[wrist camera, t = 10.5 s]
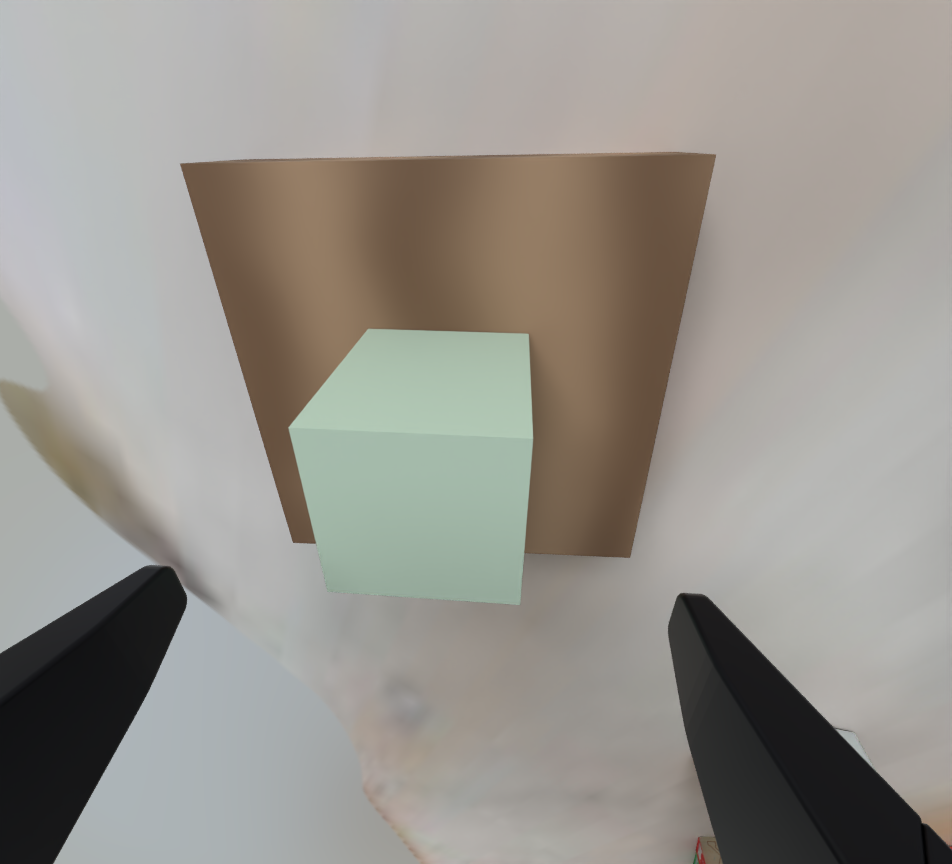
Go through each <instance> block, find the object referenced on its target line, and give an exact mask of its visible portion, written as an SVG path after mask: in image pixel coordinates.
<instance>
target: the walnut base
mask: <svg viewBox="0 0 952 864" xmlns="http://www.w3.org/2000/svg"><path fill="white" fill-rule="evenodd" d="M715 158H716V155H714V154H699V153H683V152H651V153H594V154H537V155H479V156H422V157H365V158H307V159H250V160H230V161H214V162H199V163H183V164H180V165H181V168H182V172H183V175H184V178H185V182H186V185H187V188H188V192H189V195H190V198H191V202H192V205H193V209H194V212H195V215H196V219H197V222H198V225H199V229H200V232H201V235H202V239H203V242H204V245H205V249H206V252H207V255H208V259H209V262H210V266H211V269H212V272H213V276H214V279H215V282H216V286H217V289H218V292H219V296H220V299H221V302H222V306H223V309H224V313H225V316H226V319H227V323H228V326H229V329H230V333H231V336H232V339H233V343H234V346H235V349H236V353H237V356H238V360H239V363H240V366H241V370H242V373H243V376H244V380H245V383H246V386H247V390H248V393H249V396H250V400H251V403H252V407H253V410H254V413H255V417H256V420H257V423H258V427H259V430H260V433H261V437H262V440H263V443H264V447H265V450H266V454H267V457H268V460H269V464H270V467H271V470H272V474H273V477H274V480H275V484H276V487H277V490H278V494H279V497H280V500H281V504H282V507H283V511H284V514H285V517H286V521H287V524H288V527H289V531H290V534H291V537H292V541H293V543H312V544H316V541H315V537H314V533H313V528H312V524H311V520H310V516H309V512H308V507H307V503H306V499H305V495H304V491H303V487H302V482H301V478H300V474H299V470H298V466H297V461H296V457H295V453H294V449H293V445H292V441H291V436H290V432H289V428H288V427H289V426H290V425H291V424H292V423H293V421H294V420H295V419H296V418H297V416H298V415H299V414H300V413H301V411H302V410H303V409H304V408H305V406H306V405H307V404H308V403H309V401H310V400H311V399H312V398H313V396H314V395H315V394H316V393H317V392H318V390H319V389H320V388H321V387H322V385H323V384H324V383H325V382H326V380H327V379H328V378H329V377H330V375H331V374H332V373H333V372H334V370H335V369H336V368H337V367H338V366H339V364H340V363H341V362H342V361H343V359H344V358H345V357H346V356H347V354H348V353H349V352H350V351H351V349H352V348H353V347H354V346H355V344H356V343H357V342H358V341H359V340H360V338H361V337H362V336H363V335H364V333H365V332H366V331H367V330H368V329H393V330H425V331H458V332H490V333H522V334H529V352H530V375H531V399H532V423H533V447H532V460H531V473H530V485H529V498H528V511H527V523H526V536H525V548H524V553H535V554H557V555H580V556H602V557H624V558H630V555H631V550H632V546H633V541H634V536H635V532H636V527H637V522H638V518H639V513H640V508H641V504H642V499H643V494H644V490H645V485H646V480H647V476H648V471H649V466H650V462H651V457H652V452H653V448H654V443H655V438H656V434H657V429H658V424H659V420H660V415H661V410H662V406H663V401H664V396H665V391H666V387H667V382H668V377H669V373H670V368H671V363H672V359H673V354H674V349H675V345H676V340H677V335H678V331H679V326H680V321H681V317H682V312H683V307H684V303H685V298H686V293H687V289H688V284H689V279H690V275H691V270H692V265H693V261H694V256H695V251H696V247H697V242H698V237H699V233H700V228H701V223H702V218H703V214H704V209H705V204H706V200H707V195H708V190H709V186H710V181H711V176H712V172H713V167H714V162H715Z"/></svg>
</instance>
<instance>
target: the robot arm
mask: <svg viewBox="0 0 952 864" xmlns="http://www.w3.org/2000/svg"><path fill="white" fill-rule="evenodd" d="M186 605H187V595H186V593H185V591H184V589H183V587H182V585H181V583H180V581H179V579H178V577H177V575H176V573H175V571H174V569H173V568H171V567H169V566H160V565H149V566H145V567H143V568H141V569H139V570H138V571H136V572H134V573H133V574H131V575H129V576H128V577H126V578H125V579H123V580H121V581H119V582H118V583H116V584H114V585H113V586H111V587H109V588H108V589H106V590H105V591H103V592H101V593H100V594H98V595H96V596H95V597H93V598H91V599H90V600H88V601H86V602H85V603H83V604H81V605H80V606H78V607H76V608H75V609H73V610H71V611H70V612H68V613H66V614H65V615H63V616H62V617H60V618H58V619H56V620H55V621H53V622H52V623H50V624H48V625H47V626H45V627H43V628H42V629H40V630H38V631H37V632H35V633H34V634H32V635H30V636H28V637H27V638H25V639H23V640H22V641H20V642H19V643H17V644H15V645H13V646H12V647H10V648H8V649H7V650H5V651H4V652H2V653H0V864H53V863H54V861H55V860H56V858H57V856H58V854H59V852H60V850H61V849H62V847H63V845H64V843H65V842H66V840H67V838H68V836H69V834H70V833H71V831H72V829H73V827H74V825H75V824H76V822H77V820H78V818H79V816H80V815H81V813H82V811H83V809H84V807H85V806H86V804H87V802H88V800H89V798H90V797H91V795H92V793H93V791H94V789H95V788H96V786H97V784H98V782H99V780H100V778H101V776H102V775H103V773H104V771H105V770H106V767H107V766H108V764H109V762H110V761H111V759H112V757H113V755H114V753H115V752H116V750H117V748H118V746H119V744H120V743H121V741H122V739H123V737H124V735H125V734H126V732H127V730H128V728H129V726H130V725H131V723H132V721H133V719H134V717H135V715H136V714H137V712H138V710H139V708H140V706H141V705H142V703H143V701H144V699H145V697H146V695H147V693H148V691H149V689H150V687H151V685H152V683H153V681H154V679H155V677H156V674H157V672H158V670H159V668H160V665H161V663H162V661H163V659H164V656H165V654H166V652H167V649H168V647H169V645H170V642H171V640H172V638H173V636H174V634H175V632H176V629H177V627H178V625H179V622H180V620H181V618H182V615H183V613H184V611H185V609H186ZM668 636H669V643H670V648H671V654H672V660H673V665H674V671H675V677H676V682H677V688H678V694H679V700H680V705H681V711H682V716H683V722H684V727H685V732H686V736H687V739H688V743H689V747H690V751H691V754H692V758H693V761H694V765H695V768H696V772H697V775H698V779H699V782H700V786H701V789H702V793H703V796H704V800H705V803H706V807H707V811H708V814H709V818H710V821H711V825H712V828H713V832H714V835H715V839H716V842H717V846H718V849H719V853H720V856H721V860H722V863H723V864H952V849H951V848H950V847H949V846H948V845H947V844H946V843H945V842H944V841H943V840H942V839H941V838H940V837H939V836H938V835H937V834H936V832H935V831H934V830H933V829H932V828H931V827H930V826H929V825H927V824H925V823H922V821H921V818H920V816H919V815H918V814H917V813H916V812H915V811H914V810H913V809H912V808H911V807H910V806H909V805H908V804H907V803H906V802H905V801H904V800H903V799H902V798H901V797H900V796H899V795H898V793H897V792H896V791H895V790H894V789H893V788H892V787H891V786H890V785H889V784H888V783H887V782H886V781H885V780H884V779H883V778H882V777H881V776H880V775H879V774H878V773H877V772H876V771H875V770H874V769H873V768H872V767H871V766H870V765H869V763H868V762H867V761H866V760H865V759H864V758H863V757H862V756H861V755H860V754H859V753H858V752H857V751H856V750H855V749H854V748H853V747H852V746H851V745H850V744H849V743H848V742H847V741H846V740H845V739H844V738H843V737H842V736H841V735H840V733H839V732H838V731H837V730H836V729H835V728H834V727H833V726H832V725H831V724H830V723H829V722H828V721H827V720H826V719H825V718H824V717H823V716H822V715H821V714H820V713H819V712H818V711H817V710H816V709H815V708H814V707H813V706H812V705H811V703H810V702H809V701H808V700H807V699H806V698H805V697H804V696H803V695H802V694H801V693H800V692H799V691H798V690H797V689H796V688H795V687H794V686H793V685H792V684H791V683H790V682H789V681H788V680H787V679H786V678H785V677H784V676H783V674H782V673H781V672H780V671H779V670H778V669H777V668H776V667H775V666H774V665H773V664H772V663H771V662H770V661H769V660H768V659H767V658H766V657H765V656H764V655H763V654H762V653H761V652H760V651H759V650H758V649H757V648H756V647H755V646H754V644H753V643H752V642H751V641H750V640H749V639H748V638H747V637H746V636H745V635H744V634H743V633H742V632H741V631H740V630H739V629H738V628H737V627H736V626H735V625H734V624H733V623H732V622H731V621H730V620H729V619H728V618H727V617H726V616H725V614H724V613H723V612H722V611H721V610H720V609H719V608H718V607H717V606H716V605H715V604H714V603H713V602H712V601H711V600H710V599H709V598H708V597H706V596H705V595H703V594H692V593H681V594H679V595H678V596H677V598H676V601H675V605H674V608H673V611H672V614H671V618H670V621H669V625H668Z"/></svg>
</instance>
